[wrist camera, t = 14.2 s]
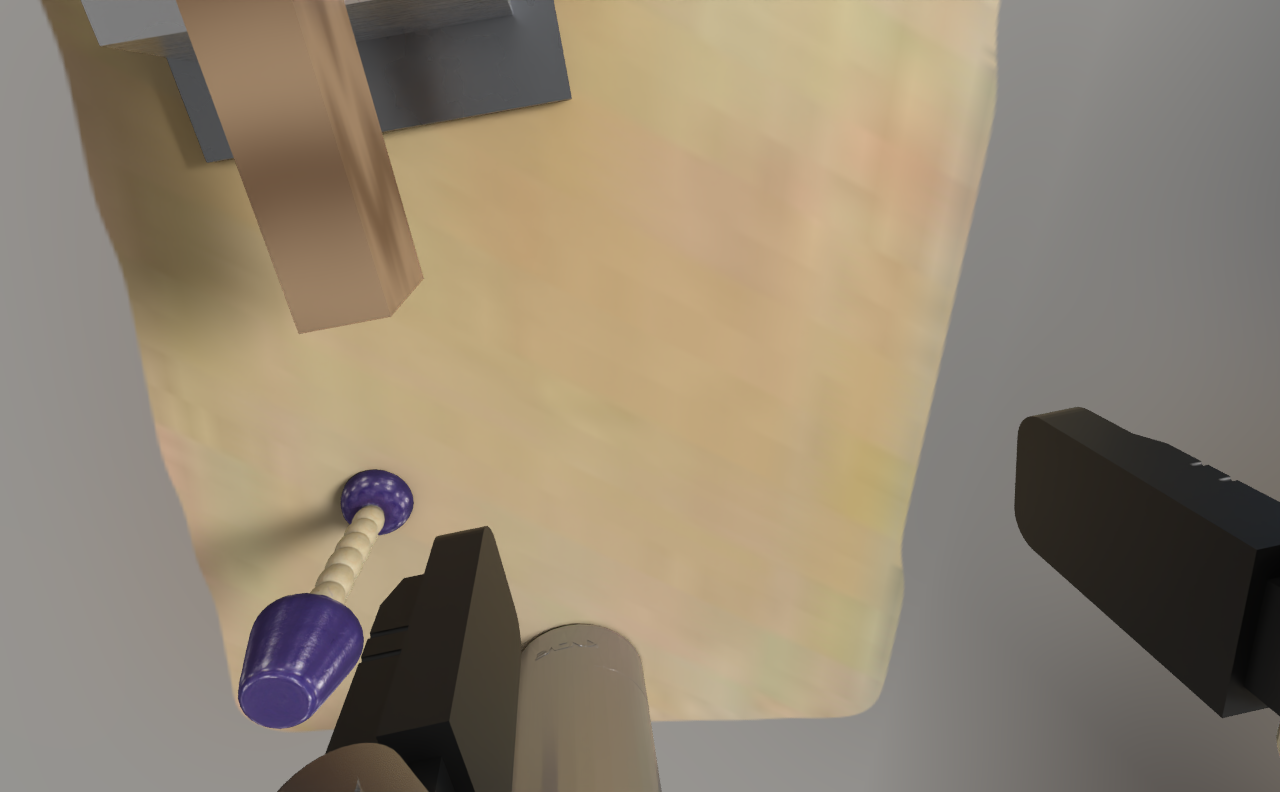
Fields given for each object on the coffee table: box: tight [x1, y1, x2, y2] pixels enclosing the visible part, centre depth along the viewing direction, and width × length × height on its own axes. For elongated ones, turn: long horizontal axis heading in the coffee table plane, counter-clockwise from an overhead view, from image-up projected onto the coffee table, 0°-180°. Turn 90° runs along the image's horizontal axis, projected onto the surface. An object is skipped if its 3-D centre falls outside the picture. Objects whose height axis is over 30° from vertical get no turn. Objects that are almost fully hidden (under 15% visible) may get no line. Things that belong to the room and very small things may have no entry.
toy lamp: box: [238, 470, 414, 729], centre depth 35 cm, size 5×5×17 cm
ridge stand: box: [81, 0, 572, 163], centre depth 29 cm, size 10×18×10 cm, turn 99°
